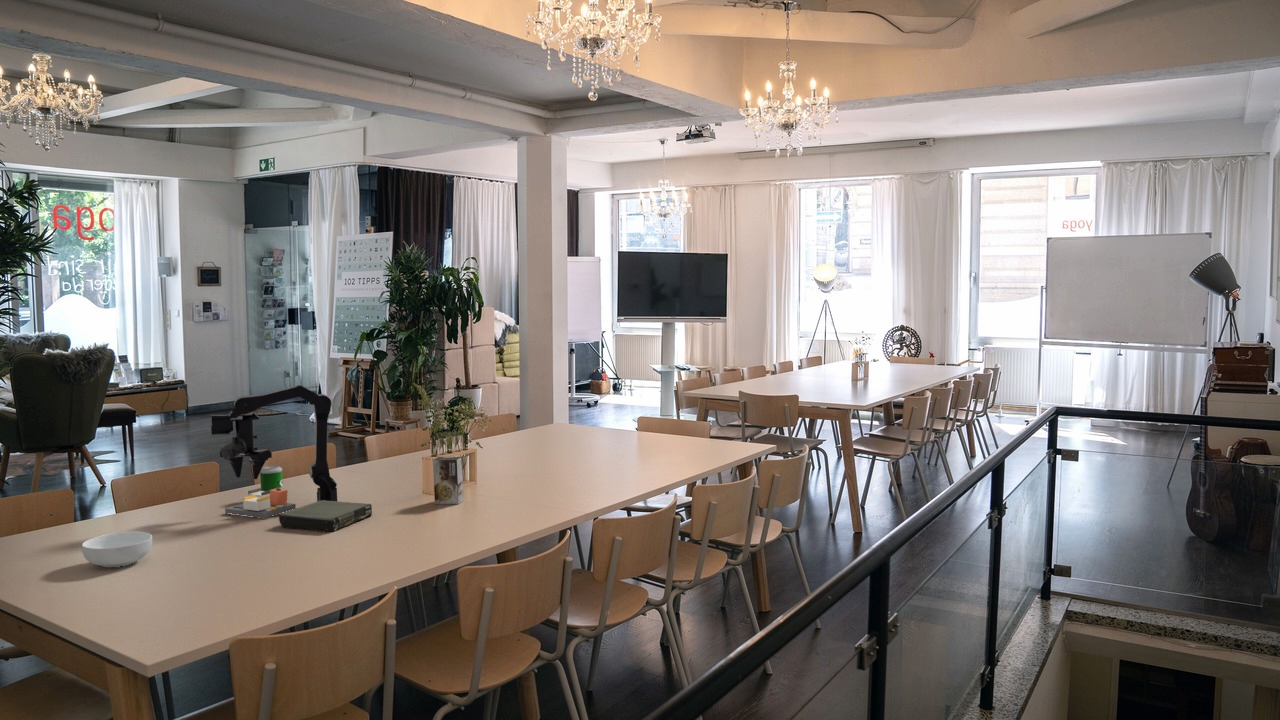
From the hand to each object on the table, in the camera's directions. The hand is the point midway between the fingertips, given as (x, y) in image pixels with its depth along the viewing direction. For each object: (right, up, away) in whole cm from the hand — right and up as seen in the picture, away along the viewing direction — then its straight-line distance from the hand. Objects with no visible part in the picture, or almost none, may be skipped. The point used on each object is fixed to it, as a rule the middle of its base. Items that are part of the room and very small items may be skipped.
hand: (246, 478), depth 299 cm
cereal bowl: (-12, -17, -54) cm, 58 cm away
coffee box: (+66, -11, +14) cm, 69 cm away
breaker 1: (+1, -9, +9) cm, 13 cm away
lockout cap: (+8, -10, +6) cm, 14 cm away
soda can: (-1, -11, +24) cm, 26 cm away
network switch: (+31, -14, -11) cm, 36 cm away
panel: (+3, -12, +4) cm, 13 cm away
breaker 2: (+4, -10, -1) cm, 11 cm away
